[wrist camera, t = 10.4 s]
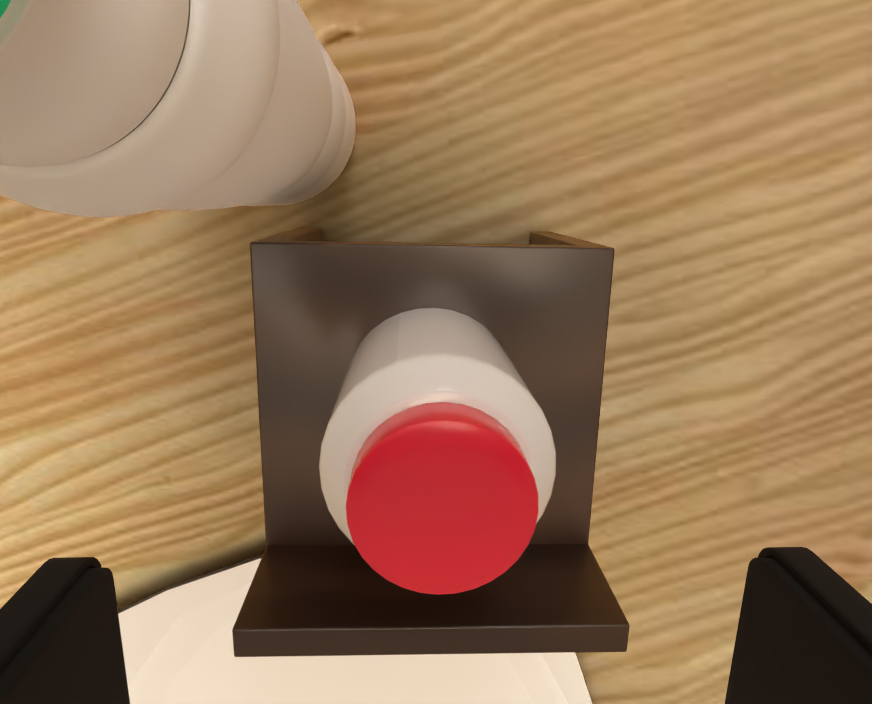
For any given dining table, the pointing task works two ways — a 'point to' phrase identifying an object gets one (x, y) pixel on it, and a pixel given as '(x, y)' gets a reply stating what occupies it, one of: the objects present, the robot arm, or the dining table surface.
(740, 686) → the robot arm
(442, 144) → the dining table surface
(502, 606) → the wooden block chair
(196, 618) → the plate
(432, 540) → the pill bottle
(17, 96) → the water bottle
